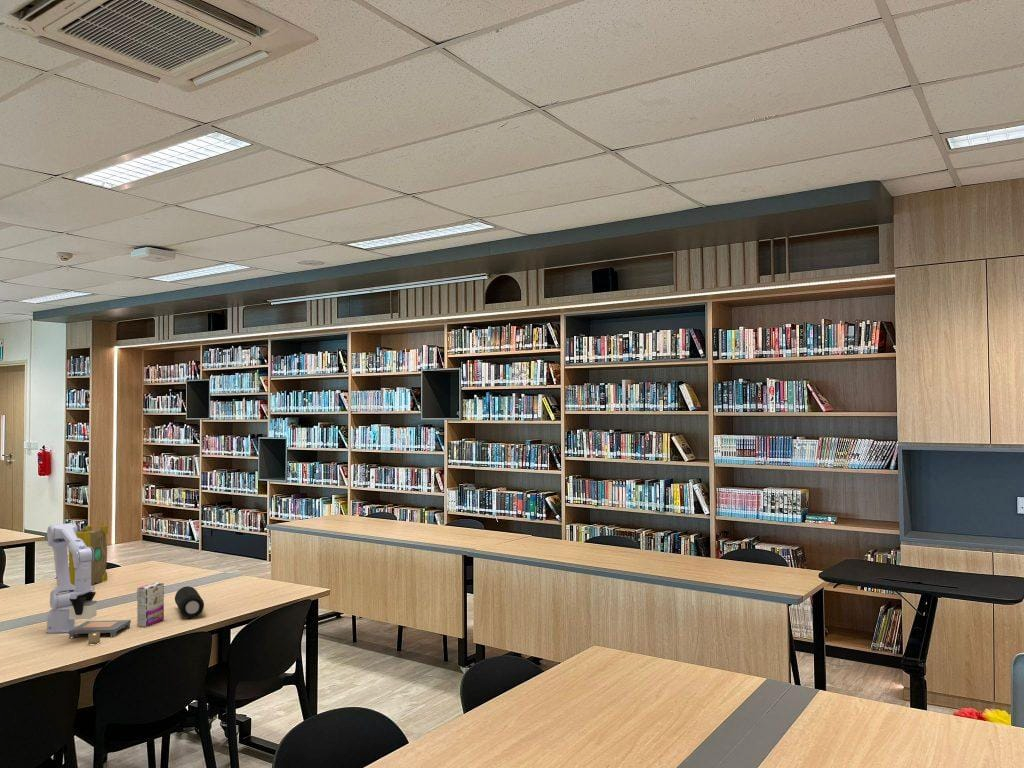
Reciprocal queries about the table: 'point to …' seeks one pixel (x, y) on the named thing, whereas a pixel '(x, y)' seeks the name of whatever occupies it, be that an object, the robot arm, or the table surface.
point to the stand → (100, 627)
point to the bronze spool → (94, 638)
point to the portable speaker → (189, 602)
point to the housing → (84, 611)
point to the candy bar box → (150, 604)
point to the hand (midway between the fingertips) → (82, 612)
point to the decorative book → (100, 553)
